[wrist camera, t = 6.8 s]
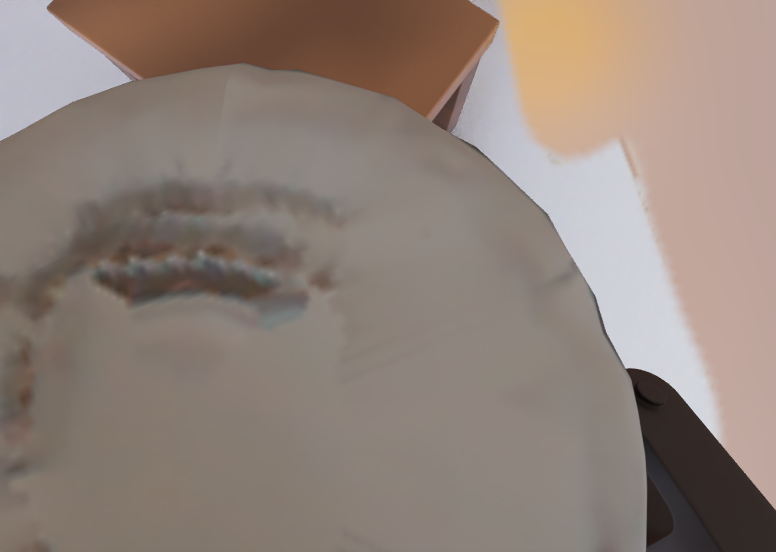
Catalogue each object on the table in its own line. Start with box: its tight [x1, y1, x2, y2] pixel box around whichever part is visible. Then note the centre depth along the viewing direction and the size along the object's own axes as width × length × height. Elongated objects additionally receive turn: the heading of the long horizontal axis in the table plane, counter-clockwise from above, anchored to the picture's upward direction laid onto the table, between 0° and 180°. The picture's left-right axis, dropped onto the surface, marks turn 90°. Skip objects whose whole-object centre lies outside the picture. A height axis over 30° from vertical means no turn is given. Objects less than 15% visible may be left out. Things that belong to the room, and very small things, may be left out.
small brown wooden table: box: [47, 0, 499, 133], centre depth 19 cm, size 16×11×8 cm
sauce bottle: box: [0, 63, 647, 552], centre depth 11 cm, size 6×6×20 cm
